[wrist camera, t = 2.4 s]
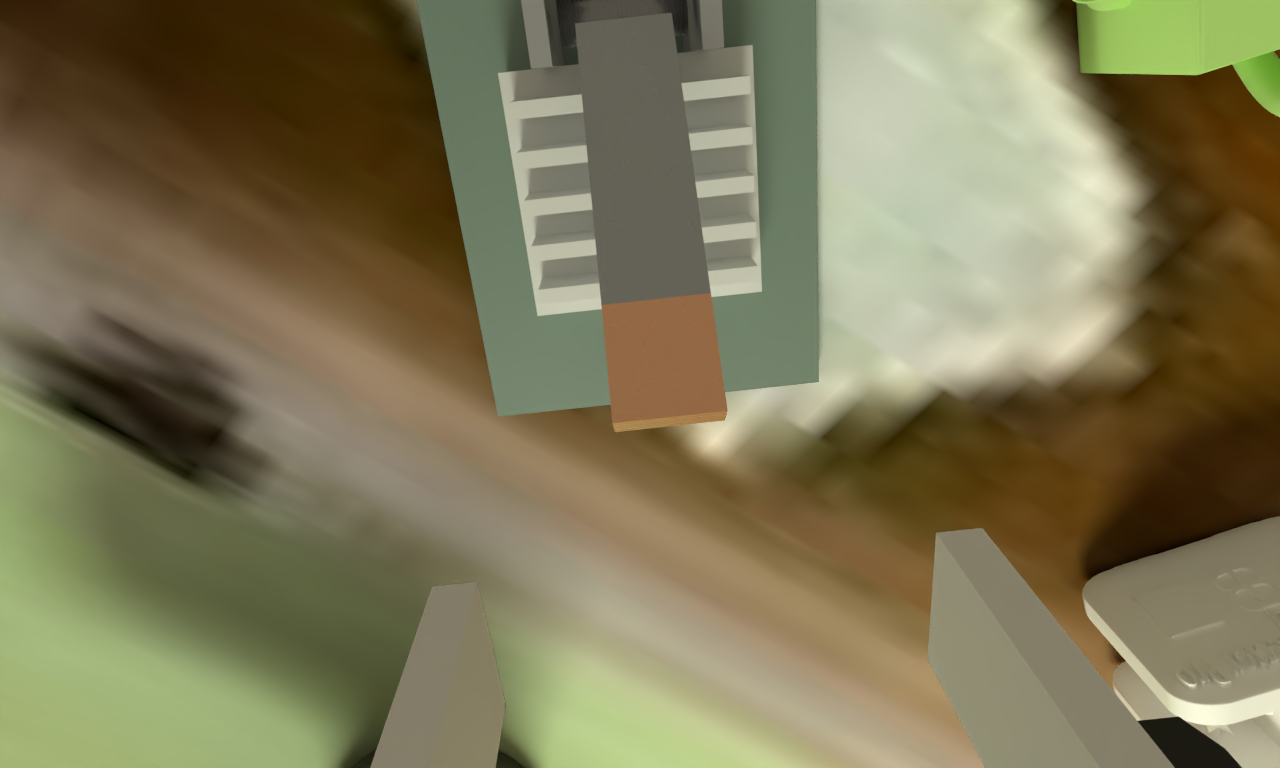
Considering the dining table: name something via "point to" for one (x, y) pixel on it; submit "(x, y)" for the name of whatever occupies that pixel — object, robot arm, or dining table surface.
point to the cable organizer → (1201, 637)
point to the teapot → (1184, 40)
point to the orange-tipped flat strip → (645, 213)
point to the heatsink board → (561, 196)
